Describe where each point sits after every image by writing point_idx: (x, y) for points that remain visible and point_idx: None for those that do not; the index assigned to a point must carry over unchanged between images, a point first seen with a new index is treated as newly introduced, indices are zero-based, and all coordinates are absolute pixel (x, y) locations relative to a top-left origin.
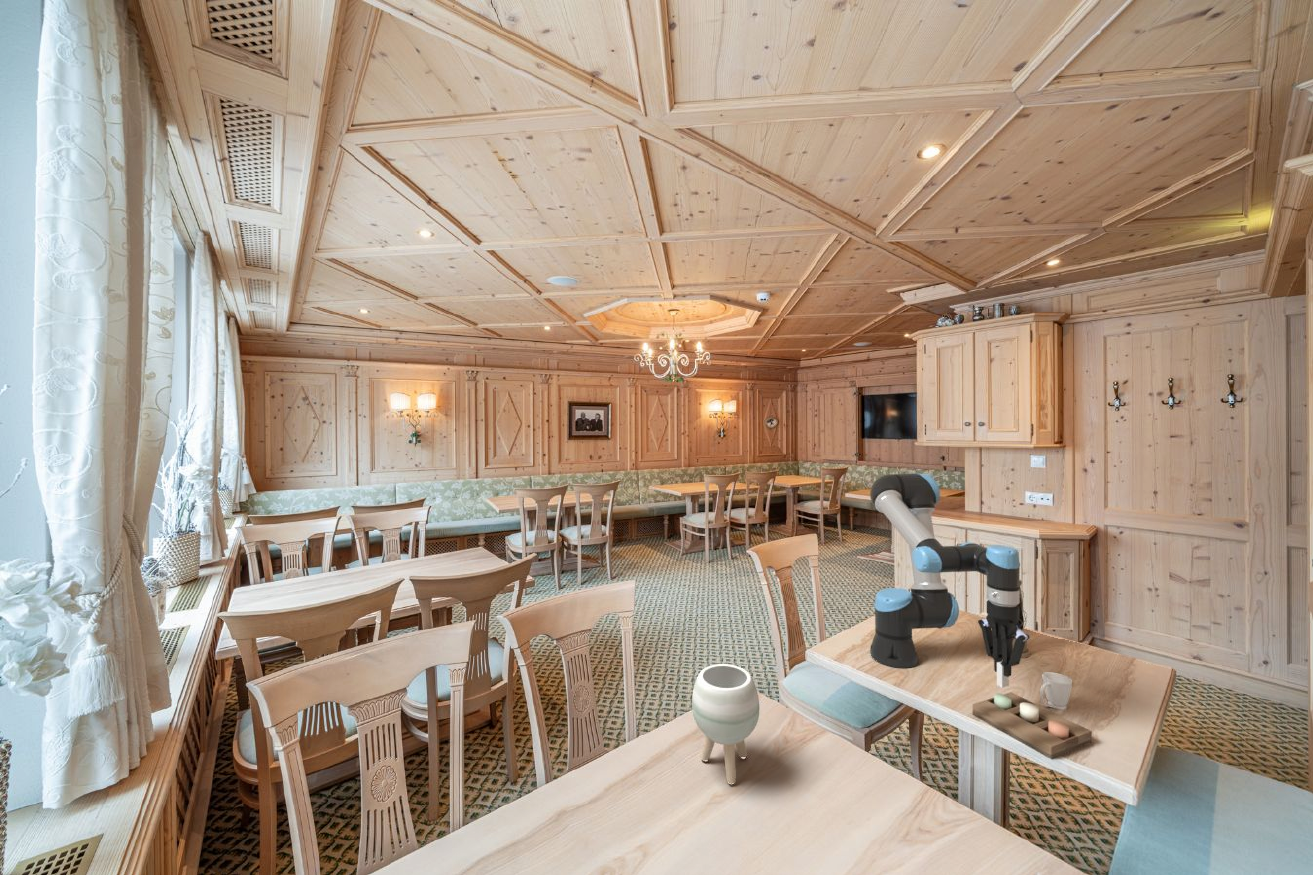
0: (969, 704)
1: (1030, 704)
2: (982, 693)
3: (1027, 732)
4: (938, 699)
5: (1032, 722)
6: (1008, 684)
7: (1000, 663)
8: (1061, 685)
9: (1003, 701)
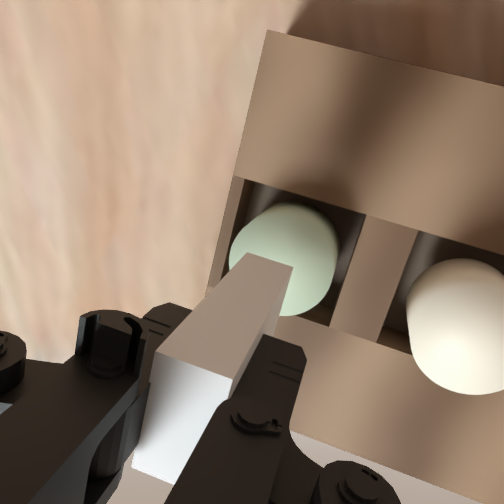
0: (151, 267)
1: (472, 296)
2: (135, 75)
3: (493, 493)
4: (49, 330)
5: (462, 252)
6: (290, 271)
7: (172, 467)
8: None
9: (301, 310)
